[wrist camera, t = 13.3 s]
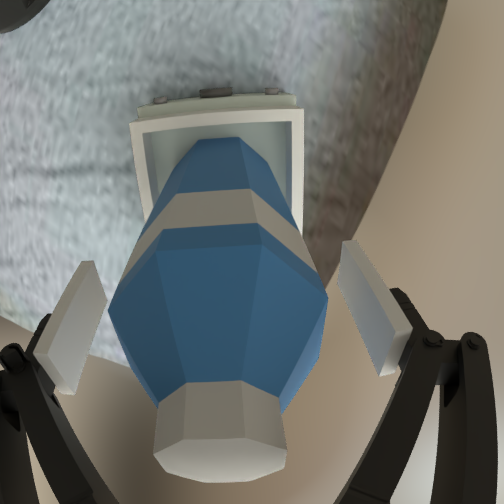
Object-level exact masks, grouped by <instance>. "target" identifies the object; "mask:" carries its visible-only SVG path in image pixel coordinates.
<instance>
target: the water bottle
mask: <svg viewBox="0 0 504 504" xmlns="http://www.w3.org/2000/svg"><path fill="white" fill-rule="evenodd" d="M327 303H328V296H327V294H326V291H325V289H324V286H323V284H322V282H321V279H320V277H319V275H318V272H317V270H316V268H315V265H314V263H313V261H312V258H311V256H310V254H309V252H308V249H307V247H306V245H305V242H304V240H303V238H302V236H301V233H300V231H299V229H298V227H297V224H296V222H295V220H294V218H293V216H292V213H291V211H290V209H289V207H288V205H287V203H286V200H285V198H284V196H283V194H282V192H281V190H280V187H279V185H278V183H277V181H276V179H275V177H274V175H273V173H272V170H271V168H270V166H269V164H268V162H267V161H265V160H264V159H263V158H262V157H261V156H260V155H259V154H258V153H257V152H255V151H254V150H253V149H252V148H251V147H250V146H249V145H248V144H246V143H245V142H244V141H243V140H242V139H241V138H240V137H228V138H212V139H199V140H198V141H197V142H196V143H195V144H194V145H193V146H192V148H191V149H190V150H189V151H188V152H187V153H186V154H185V156H184V157H183V158H182V159H181V160H180V162H179V163H178V164H177V165H176V166H175V167H174V169H173V170H172V172H171V174H170V176H169V178H168V180H167V182H166V184H165V186H164V188H163V190H162V191H161V193H160V195H159V197H158V199H157V201H156V203H155V205H154V207H153V209H152V211H151V213H150V215H149V218H148V220H147V222H146V224H145V226H144V228H143V230H142V232H141V234H140V236H139V239H138V241H137V243H136V245H135V247H134V249H133V252H132V254H131V256H130V258H129V261H128V263H127V265H126V268H125V270H124V272H123V274H122V277H121V279H120V282H119V284H118V286H117V289H116V291H115V294H114V296H113V298H112V301H111V303H110V306H109V309H108V313H109V316H110V318H111V321H112V323H113V326H114V328H115V331H116V333H117V336H118V338H119V341H120V343H121V346H122V348H123V350H124V353H125V355H126V357H127V360H128V362H129V364H130V367H131V369H132V370H133V372H134V373H135V375H136V377H137V378H138V380H139V381H140V383H141V384H142V386H143V388H144V389H145V391H146V392H147V394H148V395H149V397H150V398H151V400H152V401H153V403H154V404H155V405H156V407H157V408H158V414H157V423H156V432H155V442H154V452H153V454H154V456H155V457H156V459H157V460H158V462H159V463H160V464H161V465H162V467H163V468H164V470H165V471H166V472H168V473H171V474H174V475H178V476H181V477H185V478H189V479H193V480H197V481H201V482H205V483H214V482H215V483H216V482H243V481H252V480H254V479H257V478H260V477H263V476H265V475H268V474H270V473H273V472H276V471H278V470H281V469H283V468H284V466H285V460H286V454H287V447H286V440H285V434H284V428H283V421H282V416H281V415H282V413H283V412H284V410H285V409H286V407H287V406H288V405H289V403H290V402H291V400H292V399H293V397H294V396H295V394H296V393H297V391H298V389H299V388H300V387H301V385H302V383H303V382H304V380H305V379H306V377H307V376H308V374H309V373H310V371H311V370H312V368H313V366H314V365H315V363H316V362H317V360H318V358H319V353H320V347H321V341H322V335H323V329H324V322H325V317H326V310H327Z"/></svg>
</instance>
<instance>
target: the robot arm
mask: <svg viewBox="0 0 504 504" xmlns="http://www.w3.org/2000/svg"><path fill="white" fill-rule="evenodd" d="M49 1H50V0H0V33H6V32H9V31H12V30H14V29H17V28H19V27H20V26H22V25H24V24H25V23H27V22H28V21H29V20H31V19H32V18H33V17H34V16H35V15H36V14H38V13H39V12H40V11H41V10H42V9H43V7H44V6H45V5H46V4H47V3H48V2H49ZM337 284H338V286H339V288H340V290H341V293H342V295H343V297H344V299H345V301H346V303H347V305H348V308H349V310H350V312H351V314H352V316H353V318H354V320H355V323H356V325H357V327H358V329H359V332H360V334H361V336H362V339H363V341H364V343H365V345H366V348H367V350H368V352H369V355H370V357H371V359H372V362H373V364H374V366H375V369H376V371H377V373H378V376H384V375H388V374H393V373H395V371H396V368H397V366H398V365H399V367H400V369H401V371H402V372H401V374H400V376H399V378H398V381H397V383H396V385H395V388H394V391H393V393H392V395H391V398H390V400H389V402H388V404H387V407H386V409H385V411H384V413H383V415H382V417H381V420H380V422H379V424H378V426H377V428H376V430H375V432H374V434H373V436H372V438H371V440H370V441H369V443H368V446H367V447H366V449H365V451H364V453H363V455H362V457H361V458H360V460H359V462H358V464H357V466H356V467H355V469H354V471H353V473H352V474H351V476H350V478H349V479H348V481H347V483H346V484H345V486H344V488H343V489H342V491H341V492H340V494H339V496H338V497H337V499H336V500H335V502H334V503H333V504H390V499H391V496H392V494H393V492H394V490H395V488H396V486H397V484H398V482H399V480H400V478H401V476H402V473H403V471H404V469H405V467H406V464H407V462H408V460H409V457H410V455H411V453H412V450H413V447H414V445H415V443H416V440H417V438H418V435H419V432H420V430H421V427H422V424H423V421H424V418H425V415H426V413H427V410H428V407H429V403H430V400H431V397H432V394H433V391H434V387H435V385H440V409H439V432H438V445H437V456H436V465H435V474H434V482H433V489H432V495H431V501H430V504H496V495H497V474H498V473H497V472H498V471H497V470H498V445H497V444H498V443H497V423H496V422H497V421H496V408H495V398H494V388H493V381H492V373H491V367H490V360H489V354H488V349H487V344H486V341H485V340H484V339H483V337H482V336H480V335H479V334H477V333H474V332H467V333H465V334H464V335H463V336H462V338H461V340H445V339H444V337H443V336H442V335H441V334H440V333H438V332H436V331H434V330H429V328H428V327H427V325H426V324H425V322H424V321H423V319H422V318H421V316H420V314H419V313H418V311H417V310H416V309H415V307H414V305H413V304H412V303H411V301H410V299H409V298H408V297H407V295H406V294H405V293H404V292H403V291H401V290H400V289H399V288H392V289H388V287H387V286H386V284H385V283H384V281H383V279H382V278H381V276H380V275H379V273H378V272H377V270H376V269H375V267H374V266H373V264H372V263H371V261H370V260H369V258H368V257H367V255H366V254H365V252H364V251H363V249H362V248H361V247H360V245H359V243H358V242H357V241H356V240H351V241H343V243H342V251H341V260H340V267H339V275H338V282H337ZM106 303H107V298H106V295H105V292H104V290H103V287H102V284H101V281H100V278H99V276H98V273H97V270H96V267H95V264H94V261H81V263H80V265H79V266H78V268H77V270H76V271H75V273H74V275H73V277H72V278H71V280H70V282H69V284H68V285H67V287H66V289H65V291H64V293H63V294H62V296H61V298H60V300H59V302H58V304H57V305H56V307H55V309H54V311H53V313H52V314H47V315H46V316H45V317H44V318H43V319H42V320H41V321H40V323H39V325H38V327H37V330H36V331H35V333H34V336H33V337H32V339H31V341H30V343H29V345H28V347H27V349H26V351H25V352H24V351H23V349H22V347H21V346H20V345H19V344H17V343H11V344H9V345H7V346H5V347H4V348H3V349H2V350H1V352H0V364H1V365H2V366H3V368H4V369H5V370H1V371H0V504H39V500H38V496H37V491H36V487H35V483H34V478H33V473H32V468H31V462H30V456H29V450H28V444H27V436H26V432H27V435H28V437H29V440H30V443H31V445H32V447H33V450H34V452H35V455H36V457H37V459H38V461H39V464H40V466H41V468H42V470H43V472H44V475H45V477H46V479H47V481H48V483H49V485H50V487H51V489H52V491H53V493H54V494H55V496H56V498H57V500H58V502H59V504H119V502H118V501H117V499H116V498H115V497H114V495H113V494H112V493H111V491H110V490H109V489H108V487H107V485H106V484H105V482H104V481H103V479H102V478H101V477H100V475H99V473H98V472H97V470H96V469H95V467H94V465H93V464H92V462H91V460H90V459H89V457H88V455H87V454H86V452H85V450H84V449H83V447H82V445H81V444H80V442H79V440H78V438H77V436H76V435H75V433H74V431H73V429H72V427H71V426H70V423H69V422H68V419H67V418H66V416H65V414H64V412H63V410H62V408H61V405H60V403H59V401H58V399H57V397H56V396H55V394H54V393H53V392H54V389H55V386H56V387H57V388H58V390H59V391H60V393H61V394H69V395H75V393H76V390H77V386H78V383H79V380H80V377H81V374H82V371H83V367H84V364H85V361H86V358H87V355H88V352H89V350H90V347H91V344H92V341H93V338H94V335H95V333H96V330H97V327H98V324H99V322H100V319H101V316H102V314H103V311H104V309H105V306H106Z"/></svg>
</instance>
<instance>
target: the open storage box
mask: <svg viewBox="0 0 504 504" xmlns="http://www.w3.org/2000/svg"><path fill="white" fill-rule="evenodd" d="M137 112H138V119H137V120H135V121H133V122H131V123H129V127H130V135H131V142H132V149H133V156H134V162H135V169H136V175H137V181H138V187H139V192H140V198H141V203H142V209H143V214H144V219H145V224H146V222H147V220H148V218H149V215H150V213H151V211H152V209H153V207H154V205H155V203H156V201H157V199H158V197H159V195H160V193H161V191H162V190H163V188H164V186H165V184H166V182H167V180H168V178H169V176H170V174H171V172H172V170H173V169H174V167H175V166H176V165H177V164H178V163H179V162H180V160H181V159H182V158H183V157H184V156H185V154H186V153H187V152H188V151H189V150H190V149H191V148H192V146H193V145H194V144H195V143H196V142H197V141H198V140H199V139H212V138H228V137H240V138H241V139H242V140H243V141H244V142H245V143H246V144H248V145H249V146H250V147H251V148H252V149H253V150H254V151H255V152H257V153H258V154H259V155H260V156H261V157H262V158H263V159H264V160H265V161H267V162H268V164H269V166H270V168H271V170H272V173H273V175H274V177H275V179H276V181H277V183H278V185H279V187H280V190H281V192H282V194H283V196H284V198H285V200H286V203H287V205H288V207H289V209H290V211H291V213H292V216H293V218H294V220H295V222H296V224H297V227H298V229H299V231H300V233H301V236H302V222H303V182H304V109H302V108H300V107H298V106H296V95H294V94H290V93H278V88H265V93H248V94H232V87H228V88H213V89H204V90H200V97H195V98H186V99H177V100H170V101H167V96H166V97H159V98H154V103H149V104H146V105H144V106H141V107H138V108H137Z"/></svg>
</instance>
